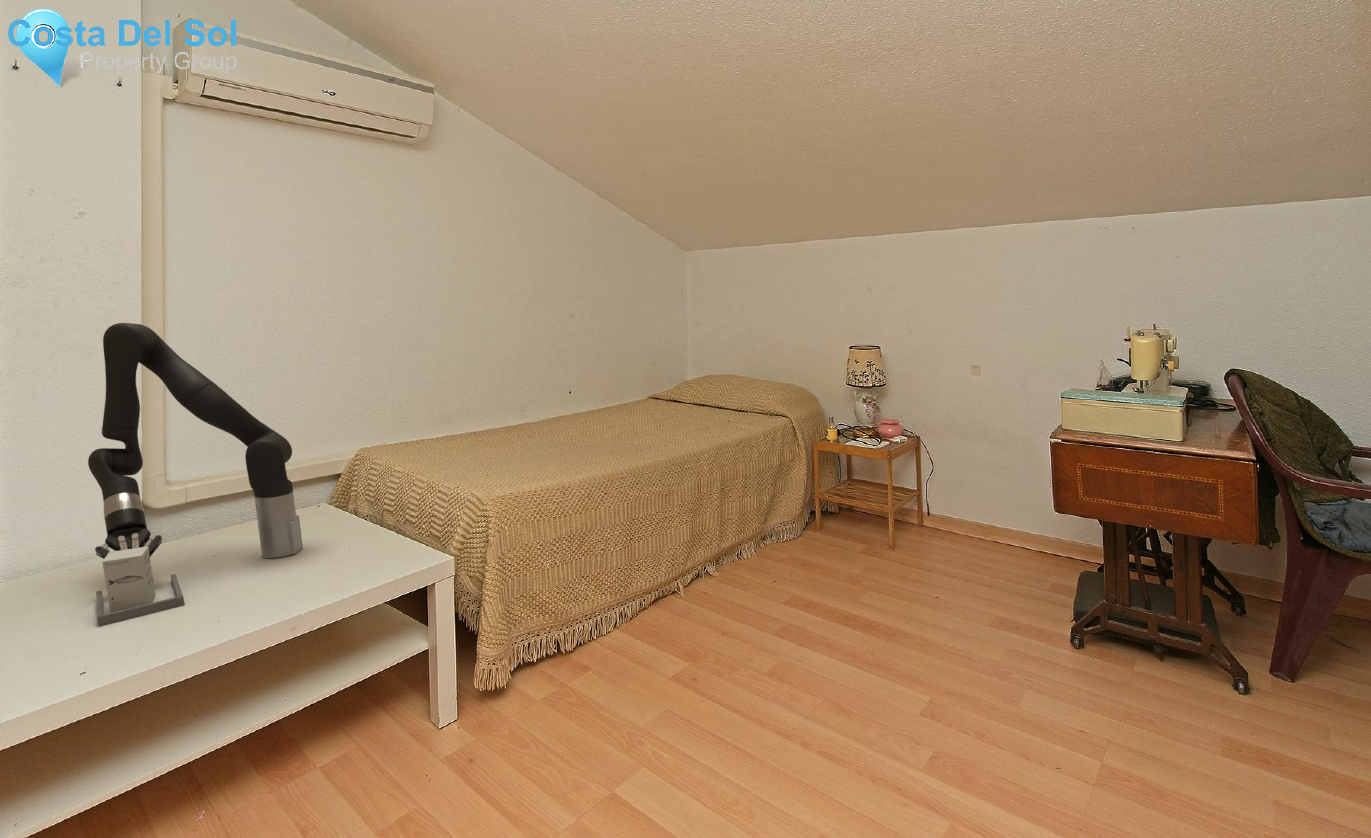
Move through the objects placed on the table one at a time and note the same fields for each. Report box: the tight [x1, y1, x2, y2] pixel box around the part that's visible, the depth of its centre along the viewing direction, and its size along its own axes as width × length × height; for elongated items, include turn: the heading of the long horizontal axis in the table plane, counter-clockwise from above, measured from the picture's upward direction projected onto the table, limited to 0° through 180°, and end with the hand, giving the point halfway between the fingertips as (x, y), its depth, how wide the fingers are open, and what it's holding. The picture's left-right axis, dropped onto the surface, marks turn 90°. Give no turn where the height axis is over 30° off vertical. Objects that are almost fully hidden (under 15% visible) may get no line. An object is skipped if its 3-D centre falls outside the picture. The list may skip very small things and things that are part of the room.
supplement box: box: [102, 545, 156, 613], centre depth 152 cm, size 7×7×13 cm
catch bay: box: [95, 573, 185, 627], centre depth 154 cm, size 18×15×2 cm
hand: (134, 576), depth 156 cm, fingers closed
